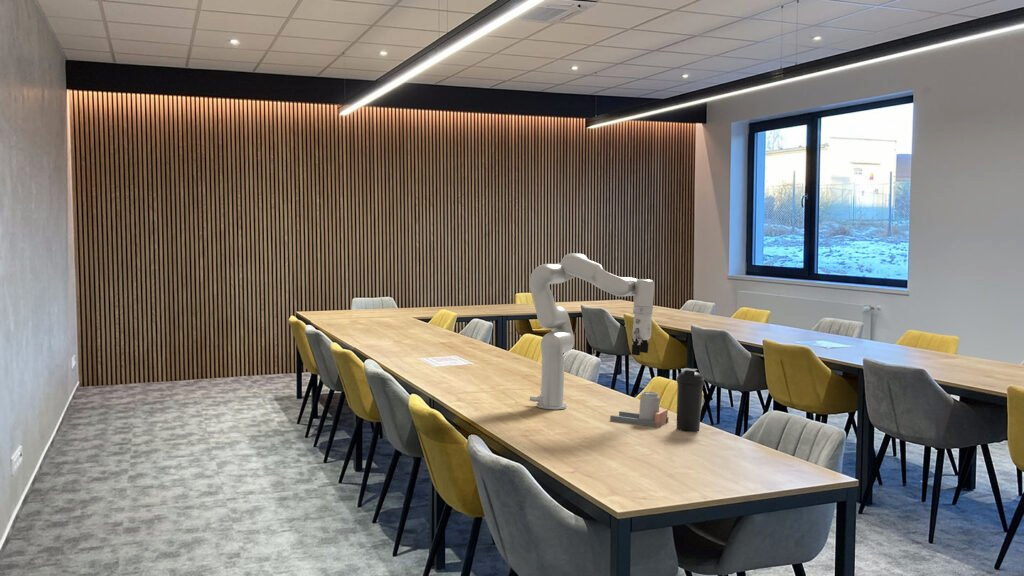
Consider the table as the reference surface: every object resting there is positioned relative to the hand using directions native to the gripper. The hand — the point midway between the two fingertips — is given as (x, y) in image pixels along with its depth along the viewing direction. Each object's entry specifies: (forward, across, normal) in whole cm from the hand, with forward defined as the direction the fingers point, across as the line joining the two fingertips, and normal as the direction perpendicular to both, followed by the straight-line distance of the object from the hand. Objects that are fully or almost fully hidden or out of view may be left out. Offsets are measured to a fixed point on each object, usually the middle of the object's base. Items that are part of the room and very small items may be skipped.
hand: (639, 353), depth 338 cm
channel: (+26, -3, -3) cm, 27 cm away
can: (+26, -3, -7) cm, 27 cm away
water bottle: (+26, -6, -23) cm, 35 cm away
